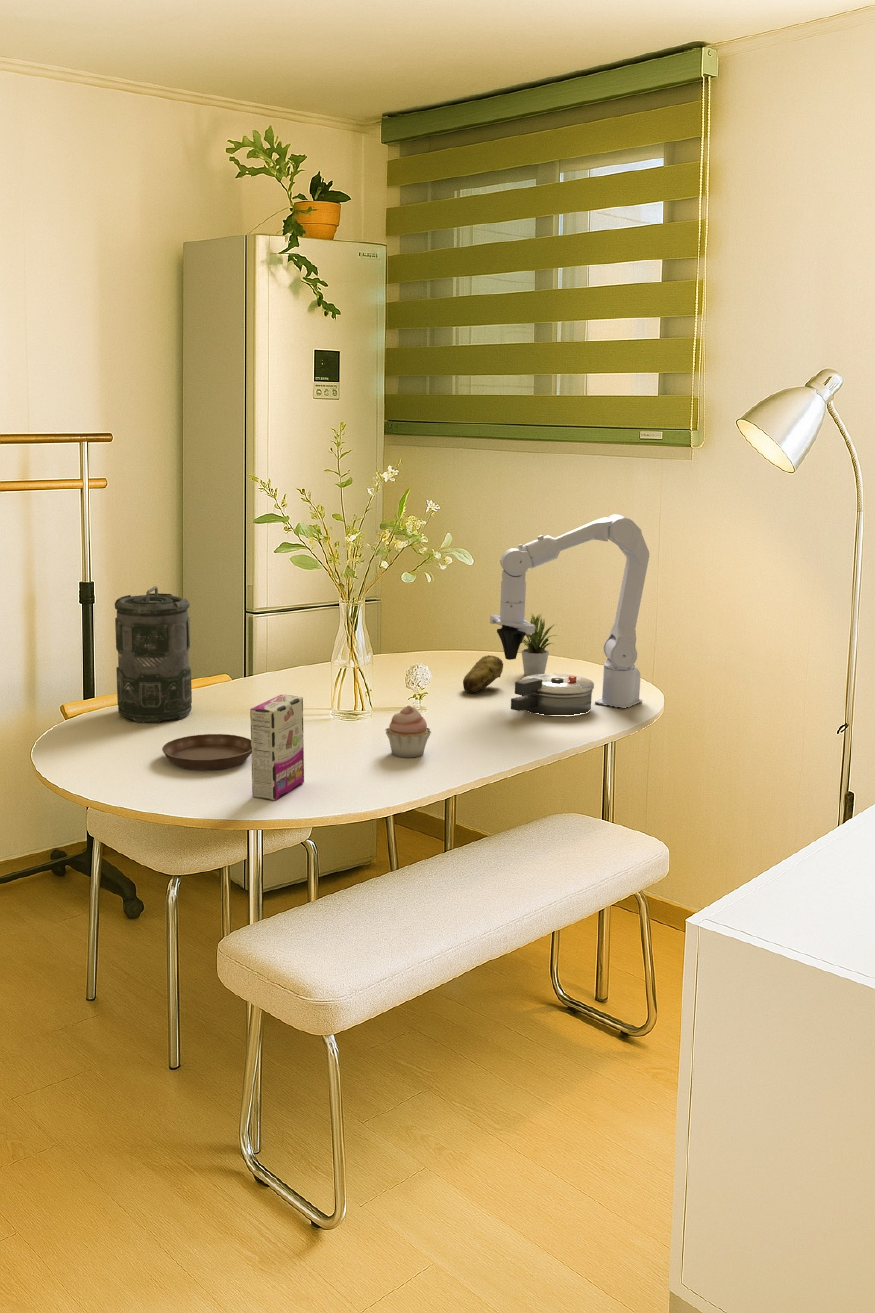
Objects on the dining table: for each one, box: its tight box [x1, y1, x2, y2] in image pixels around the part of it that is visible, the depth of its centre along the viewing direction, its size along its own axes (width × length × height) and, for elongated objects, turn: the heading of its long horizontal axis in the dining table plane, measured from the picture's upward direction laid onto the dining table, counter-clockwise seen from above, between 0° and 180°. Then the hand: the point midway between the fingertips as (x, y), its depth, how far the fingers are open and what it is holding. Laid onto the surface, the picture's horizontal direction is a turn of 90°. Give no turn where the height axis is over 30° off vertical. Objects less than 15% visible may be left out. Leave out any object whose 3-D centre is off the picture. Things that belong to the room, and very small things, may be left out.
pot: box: [510, 689, 594, 715], centre depth 274 cm, size 22×16×5 cm
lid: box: [514, 673, 595, 696], centre depth 273 cm, size 22×17×3 cm
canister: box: [114, 585, 193, 724], centre depth 259 cm, size 16×16×28 cm
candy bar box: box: [249, 694, 305, 801], centre depth 213 cm, size 11×5×16 cm, turn 158°
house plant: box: [521, 612, 558, 677], centre depth 308 cm, size 14×14×16 cm
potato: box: [462, 655, 504, 693], centre depth 291 cm, size 8×13×8 cm, turn 126°
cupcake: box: [385, 705, 432, 759], centre depth 237 cm, size 9×9×10 cm
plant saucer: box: [161, 733, 252, 771], centre depth 231 cm, size 18×18×3 cm
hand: (510, 658), depth 278 cm, fingers closed
